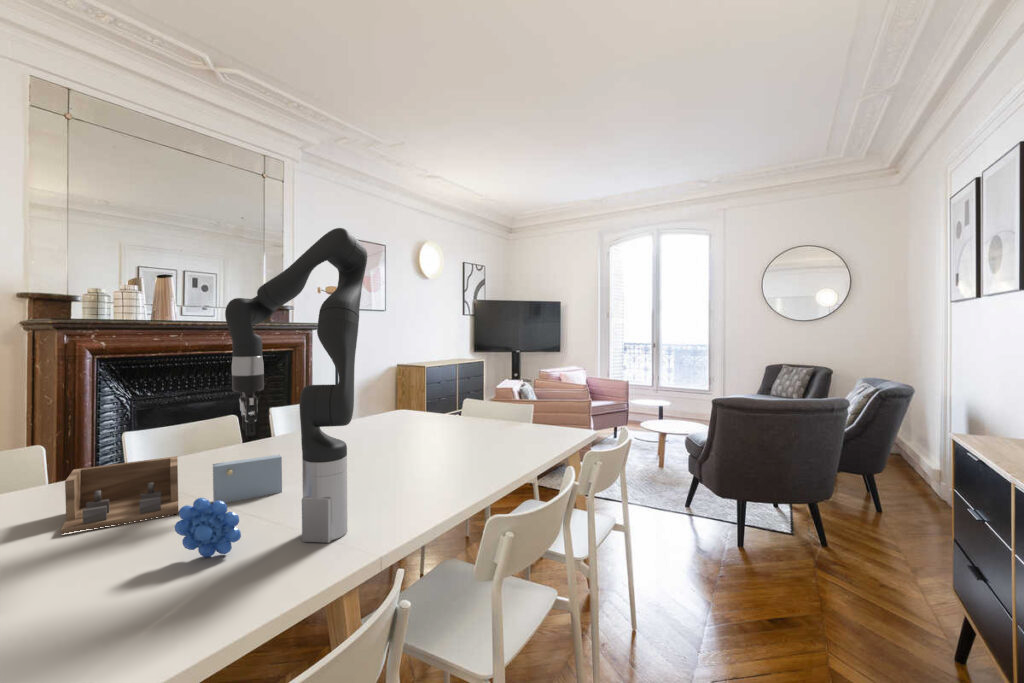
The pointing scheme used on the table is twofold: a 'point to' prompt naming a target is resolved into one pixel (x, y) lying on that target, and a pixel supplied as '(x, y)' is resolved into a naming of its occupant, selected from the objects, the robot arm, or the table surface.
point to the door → (247, 478)
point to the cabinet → (120, 493)
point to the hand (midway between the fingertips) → (249, 432)
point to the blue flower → (208, 527)
